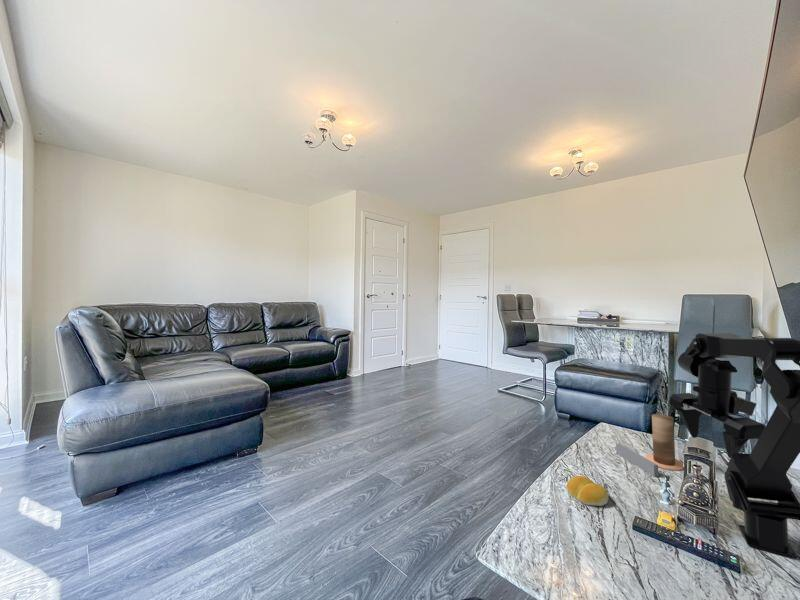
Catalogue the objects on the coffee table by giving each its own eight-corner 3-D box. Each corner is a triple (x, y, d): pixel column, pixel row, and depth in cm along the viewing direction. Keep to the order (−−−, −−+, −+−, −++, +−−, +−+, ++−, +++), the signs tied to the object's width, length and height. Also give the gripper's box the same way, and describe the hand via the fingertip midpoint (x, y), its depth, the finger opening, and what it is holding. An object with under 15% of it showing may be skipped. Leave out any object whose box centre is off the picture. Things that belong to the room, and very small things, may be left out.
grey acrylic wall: (658, 476, 89) (658, 465, 89) (654, 476, 89) (653, 465, 89) (620, 453, 103) (619, 443, 103) (616, 453, 103) (616, 443, 103)
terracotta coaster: (687, 473, 90) (687, 472, 90) (646, 465, 95) (646, 464, 95) (682, 460, 97) (681, 458, 97) (644, 453, 102) (644, 452, 102)
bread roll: (593, 511, 75) (592, 494, 75) (561, 491, 84) (560, 475, 84) (617, 502, 78) (617, 485, 78) (584, 484, 87) (583, 468, 87)
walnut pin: (669, 467, 93) (667, 420, 93) (649, 459, 97) (648, 415, 98) (678, 463, 95) (677, 417, 95) (659, 456, 100) (657, 413, 100)
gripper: (794, 398, 69) (790, 468, 71) (709, 370, 88) (707, 426, 89) (743, 402, 69) (740, 472, 70) (668, 373, 87) (667, 429, 89)
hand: (712, 447), depth 80 cm, fingers open, 9 cm apart
